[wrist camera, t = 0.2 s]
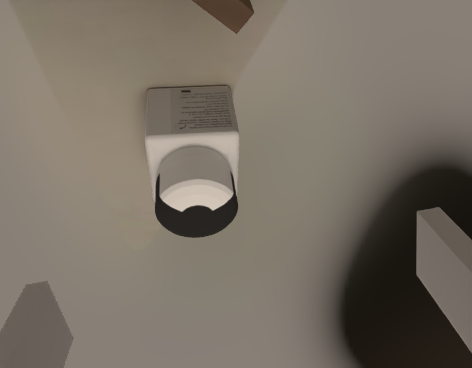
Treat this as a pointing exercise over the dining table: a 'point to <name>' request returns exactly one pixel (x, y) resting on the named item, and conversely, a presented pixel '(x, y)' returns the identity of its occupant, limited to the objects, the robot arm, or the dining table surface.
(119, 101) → the dining table surface
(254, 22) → the dining table surface
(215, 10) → the board
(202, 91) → the container
